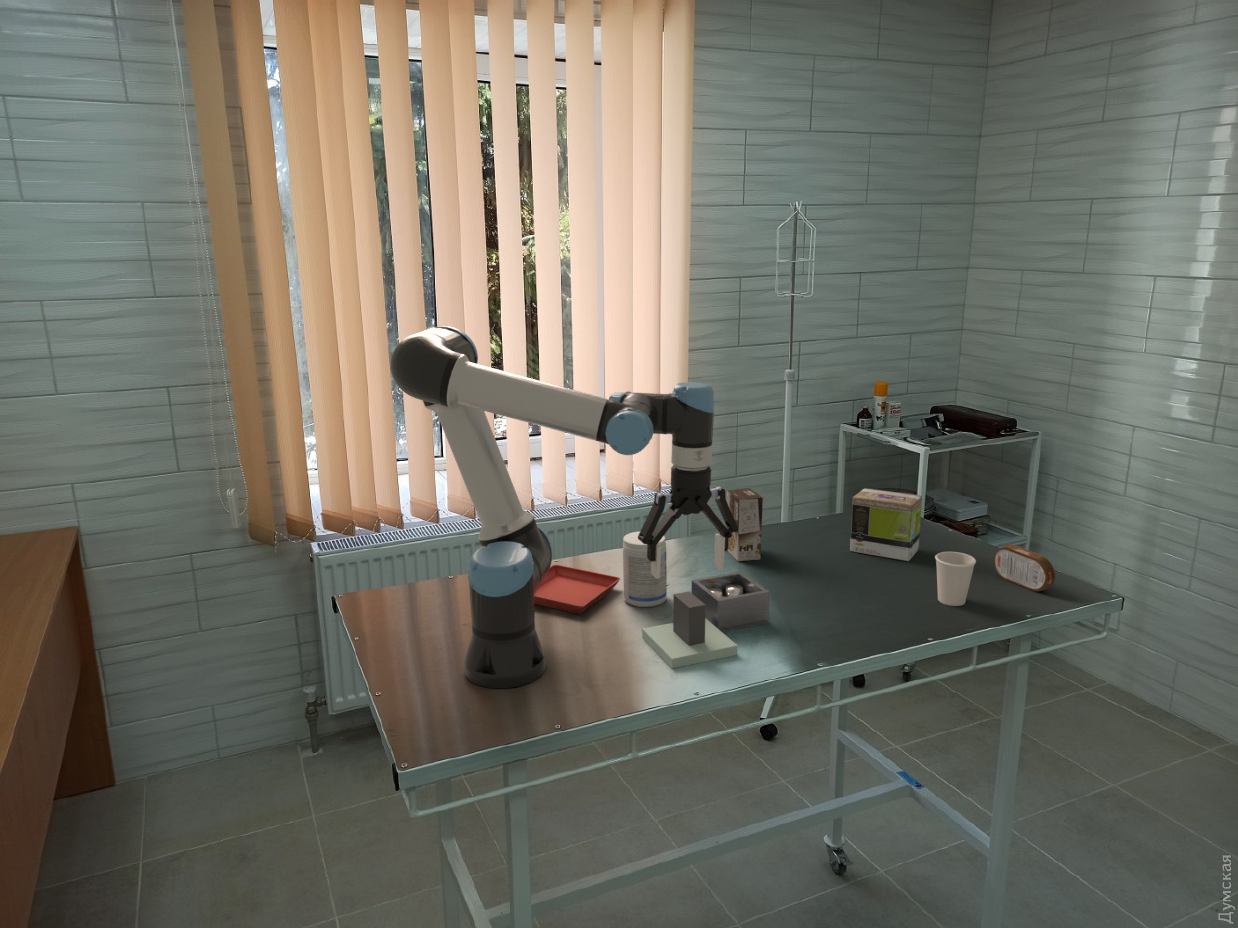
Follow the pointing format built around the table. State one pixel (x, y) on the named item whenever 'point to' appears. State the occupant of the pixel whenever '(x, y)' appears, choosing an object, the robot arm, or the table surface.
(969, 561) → the dixie cup
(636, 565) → the supplement tub
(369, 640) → the table surface
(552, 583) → the plant saucer
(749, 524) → the coffee box
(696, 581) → the instrument box
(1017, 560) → the tin
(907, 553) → the tea box
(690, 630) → the lid
